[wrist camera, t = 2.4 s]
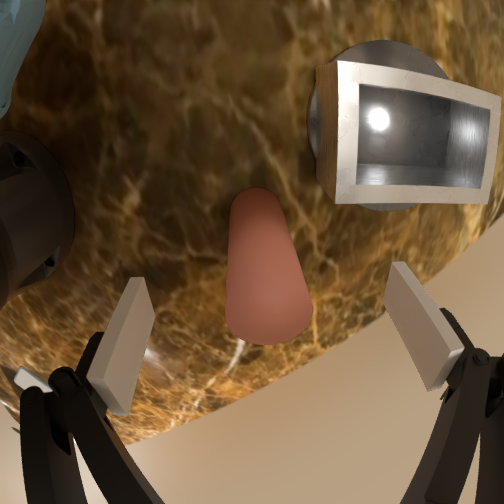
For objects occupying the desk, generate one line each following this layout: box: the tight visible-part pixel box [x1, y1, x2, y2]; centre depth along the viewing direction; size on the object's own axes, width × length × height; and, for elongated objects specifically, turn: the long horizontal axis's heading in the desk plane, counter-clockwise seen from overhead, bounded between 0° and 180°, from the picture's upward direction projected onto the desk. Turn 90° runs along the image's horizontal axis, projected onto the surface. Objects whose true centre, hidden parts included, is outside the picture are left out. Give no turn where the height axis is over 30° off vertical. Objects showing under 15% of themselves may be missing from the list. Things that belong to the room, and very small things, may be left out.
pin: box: [225, 188, 313, 345], centre depth 19 cm, size 4×4×12 cm
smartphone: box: [14, 366, 52, 392], centre depth 39 cm, size 8×1×15 cm
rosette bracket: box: [307, 40, 501, 211], centre depth 18 cm, size 14×14×6 cm
